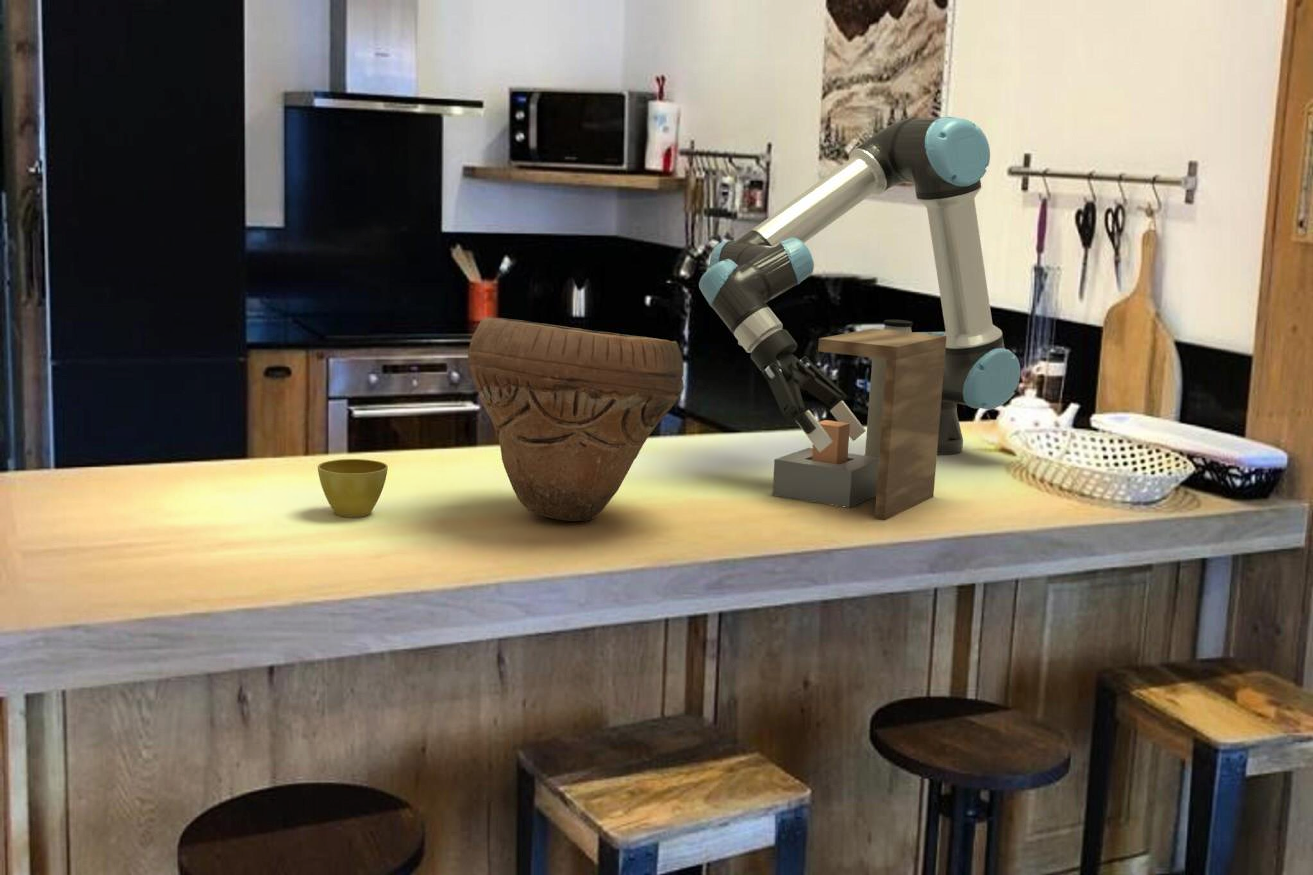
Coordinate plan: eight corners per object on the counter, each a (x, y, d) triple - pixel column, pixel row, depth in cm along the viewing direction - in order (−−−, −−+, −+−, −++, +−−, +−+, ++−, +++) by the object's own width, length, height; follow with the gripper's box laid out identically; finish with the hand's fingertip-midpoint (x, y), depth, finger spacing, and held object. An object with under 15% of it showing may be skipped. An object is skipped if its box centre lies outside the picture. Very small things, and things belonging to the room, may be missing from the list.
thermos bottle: (862, 472, 265) (873, 316, 259) (907, 475, 264) (919, 319, 259) (864, 482, 257) (876, 321, 252) (910, 485, 256) (923, 323, 251)
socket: (772, 495, 243) (774, 459, 242) (807, 481, 255) (809, 447, 254) (848, 507, 236) (851, 471, 235) (881, 493, 248) (883, 458, 247)
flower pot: (327, 523, 211) (328, 474, 210) (309, 507, 220) (309, 460, 219) (396, 519, 216) (396, 471, 214) (375, 503, 225) (376, 457, 223)
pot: (721, 521, 224) (732, 323, 218) (569, 554, 201) (577, 334, 195) (573, 483, 245) (580, 302, 240) (420, 509, 222) (424, 310, 217)
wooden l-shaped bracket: (807, 507, 235) (818, 338, 230) (861, 484, 254) (872, 328, 249) (884, 520, 229) (897, 346, 224) (933, 496, 248) (946, 336, 243)
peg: (809, 494, 245) (814, 423, 243) (820, 490, 249) (825, 420, 246) (833, 498, 243) (839, 426, 240) (845, 494, 246) (850, 423, 244)
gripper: (783, 349, 260) (856, 444, 255) (716, 362, 238) (795, 466, 234) (813, 322, 256) (888, 418, 252) (748, 332, 235) (828, 437, 230)
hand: (843, 441), depth 243 cm, fingers open, 13 cm apart
